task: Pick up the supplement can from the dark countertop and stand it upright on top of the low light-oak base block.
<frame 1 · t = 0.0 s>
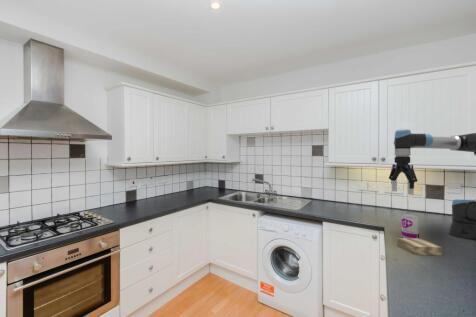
hand: (401, 192, 134), 28 cm above the table, fingers open, 13 cm apart
oak base: (418, 250, 120), on the table
supplement can: (410, 241, 134), on the table
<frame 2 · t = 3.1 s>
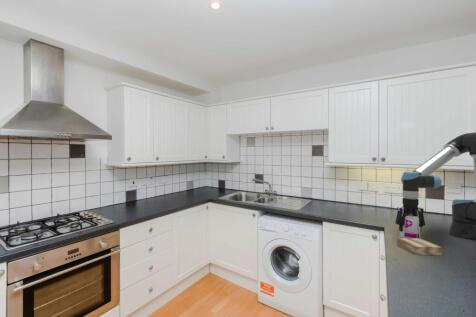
hand: (410, 237, 134), 2 cm above the table, fingers closed on supplement can, 8 cm apart
supplement can: (409, 241, 134), on the table, touching gripper
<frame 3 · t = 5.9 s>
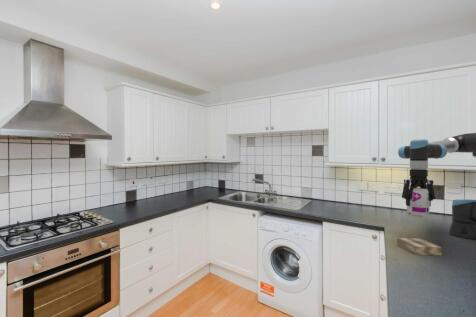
hand: (418, 212, 120), 19 cm above the table, fingers closed on supplement can, 8 cm apart
supplement can: (417, 217, 120), point 17 cm above the table, touching gripper
when the fingers open (8 cm above the table, at t = 8.9 s): supplement can drops 1 cm, resting on oak base.
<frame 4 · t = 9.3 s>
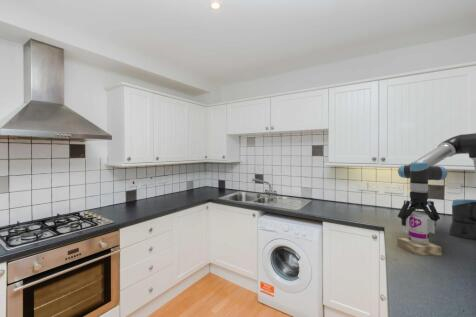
hand: (418, 232, 120), 9 cm above the table, fingers open, 13 cm apart
supplement can: (418, 242, 120), point 4 cm above the table, touching oak base
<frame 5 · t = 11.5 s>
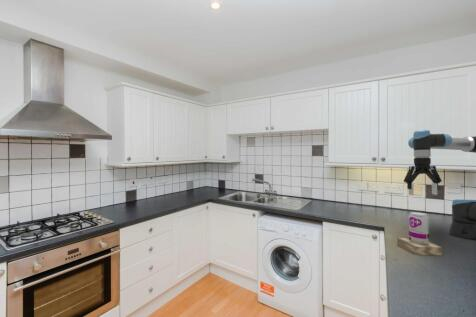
hand: (422, 194, 131), 27 cm above the table, fingers open, 13 cm apart
nothing on the table moved.
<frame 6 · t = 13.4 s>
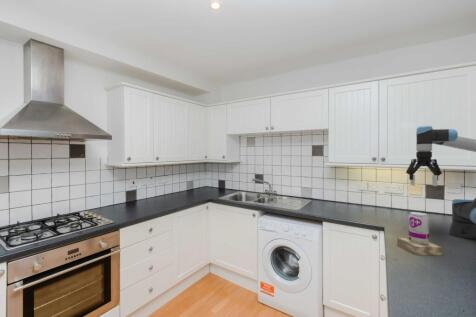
hand: (423, 185, 142), 32 cm above the table, fingers open, 13 cm apart
nothing on the table moved.
at the end: supplement can inside the target area on the oak base (0.1 cm from its centre), point 3.8 cm above the oak base's base; supplement can tilted 0°; the gripper is holding nothing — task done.
